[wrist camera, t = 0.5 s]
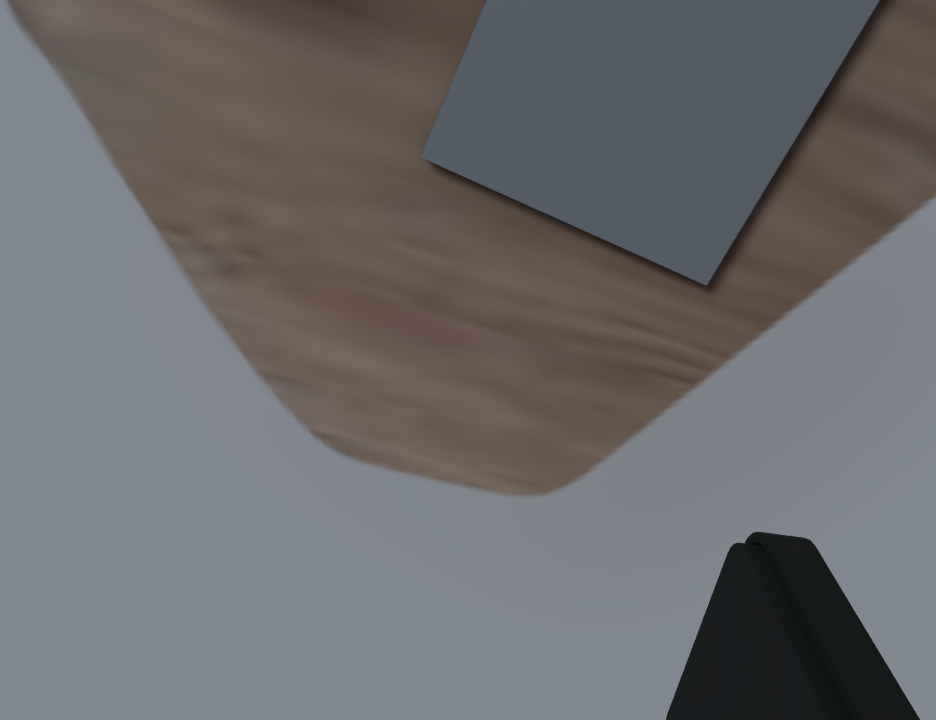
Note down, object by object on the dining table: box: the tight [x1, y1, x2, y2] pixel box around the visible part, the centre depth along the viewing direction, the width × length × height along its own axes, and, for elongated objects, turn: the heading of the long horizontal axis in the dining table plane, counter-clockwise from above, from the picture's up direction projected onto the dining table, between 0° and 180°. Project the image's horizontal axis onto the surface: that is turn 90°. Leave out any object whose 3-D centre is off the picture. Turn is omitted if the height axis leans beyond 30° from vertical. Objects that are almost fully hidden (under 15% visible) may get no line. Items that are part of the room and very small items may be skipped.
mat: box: [421, 0, 880, 286], centre depth 34 cm, size 14×14×1 cm
